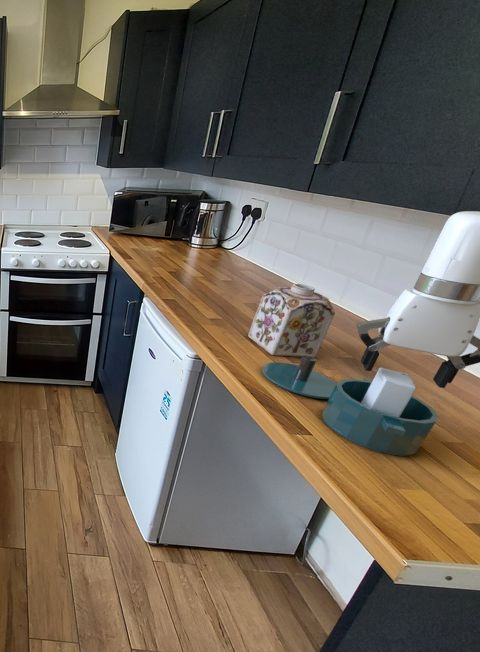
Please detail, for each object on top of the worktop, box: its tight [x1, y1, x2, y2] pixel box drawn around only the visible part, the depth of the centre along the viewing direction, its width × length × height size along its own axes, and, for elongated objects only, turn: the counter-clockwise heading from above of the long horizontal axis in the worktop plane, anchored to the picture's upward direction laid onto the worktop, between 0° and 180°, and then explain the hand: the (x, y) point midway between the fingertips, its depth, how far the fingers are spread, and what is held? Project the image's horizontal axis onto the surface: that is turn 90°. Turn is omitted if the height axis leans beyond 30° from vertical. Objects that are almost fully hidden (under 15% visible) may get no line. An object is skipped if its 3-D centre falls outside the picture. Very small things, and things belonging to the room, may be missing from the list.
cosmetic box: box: [361, 367, 417, 417], centre depth 76 cm, size 6×4×12 cm
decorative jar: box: [247, 283, 336, 358], centre depth 108 cm, size 12×12×18 cm
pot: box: [321, 377, 440, 457], centre depth 78 cm, size 14×19×8 cm
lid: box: [261, 356, 338, 400], centre depth 93 cm, size 15×15×7 cm
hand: (401, 375), depth 74 cm, fingers open, 9 cm apart
